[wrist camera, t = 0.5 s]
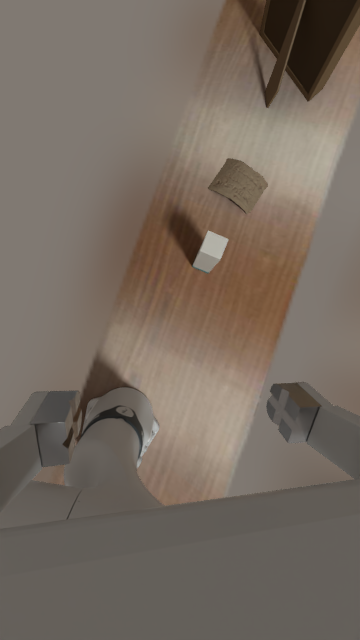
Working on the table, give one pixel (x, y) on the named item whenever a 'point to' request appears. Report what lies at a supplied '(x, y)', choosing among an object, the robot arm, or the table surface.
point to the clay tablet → (239, 184)
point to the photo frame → (307, 40)
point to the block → (210, 252)
